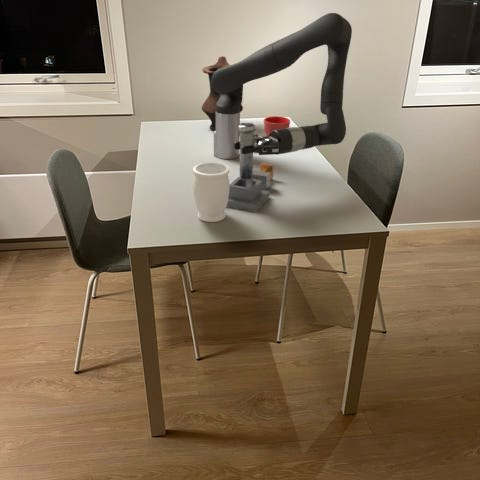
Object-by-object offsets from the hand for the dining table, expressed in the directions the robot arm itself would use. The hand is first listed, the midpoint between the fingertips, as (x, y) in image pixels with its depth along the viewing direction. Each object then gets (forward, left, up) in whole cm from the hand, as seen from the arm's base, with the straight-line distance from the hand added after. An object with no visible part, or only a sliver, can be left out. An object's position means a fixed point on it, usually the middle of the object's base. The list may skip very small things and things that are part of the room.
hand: (238, 148), depth 142 cm
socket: (+2, +2, -18) cm, 18 cm away
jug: (-37, +73, -18) cm, 83 cm away
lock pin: (+2, +17, -17) cm, 24 cm away
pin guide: (+2, +14, -18) cm, 23 cm away
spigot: (+2, +2, -9) cm, 10 cm away
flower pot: (-8, +63, -18) cm, 66 cm away
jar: (-3, -12, -18) cm, 22 cm away
